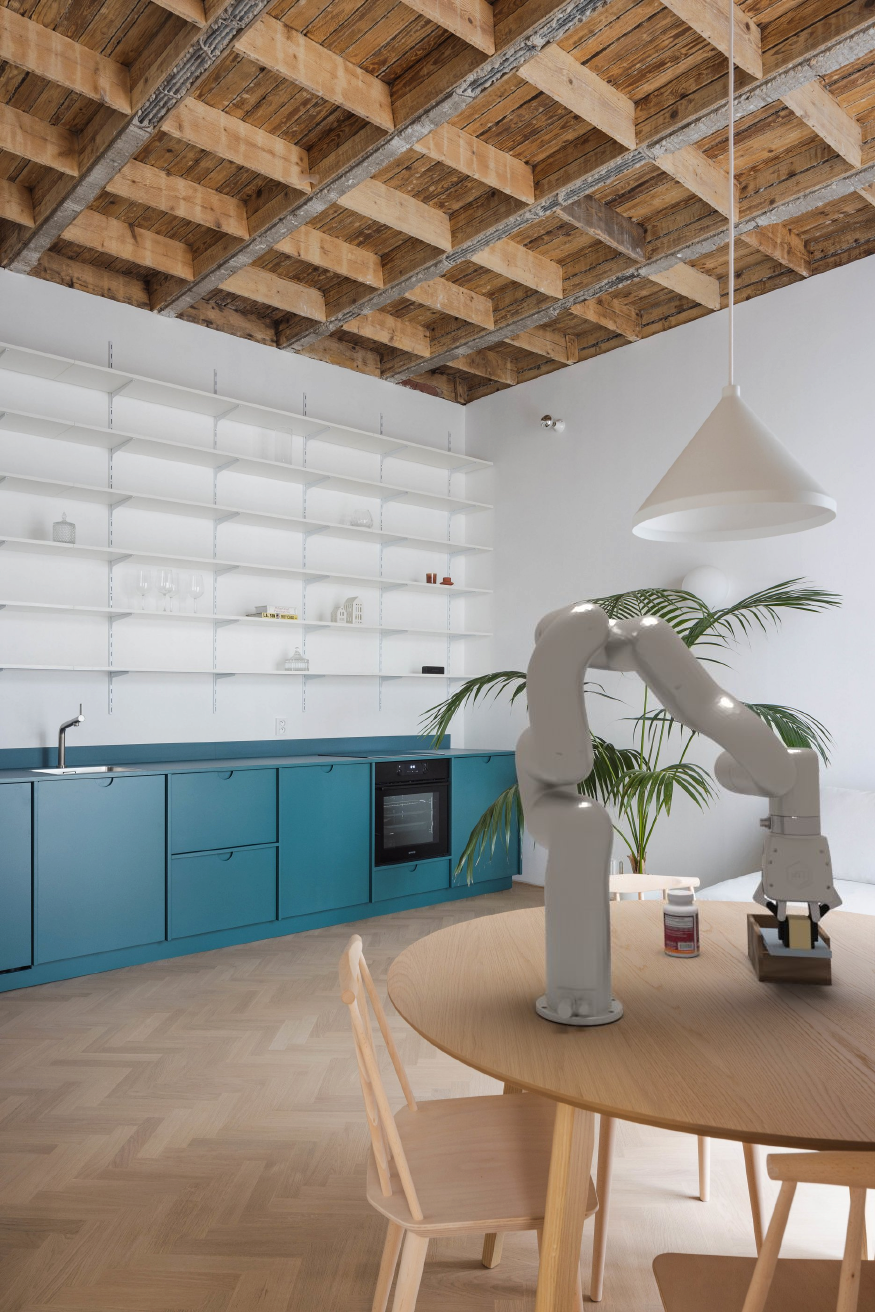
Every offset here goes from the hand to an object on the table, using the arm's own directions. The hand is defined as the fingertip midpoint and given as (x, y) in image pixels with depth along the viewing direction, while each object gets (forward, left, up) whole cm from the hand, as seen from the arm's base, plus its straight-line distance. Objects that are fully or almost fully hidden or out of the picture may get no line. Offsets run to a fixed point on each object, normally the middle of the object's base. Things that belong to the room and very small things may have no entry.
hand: (798, 944), depth 141 cm
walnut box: (+14, 0, -7) cm, 15 cm away
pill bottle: (+21, +17, -8) cm, 28 cm away
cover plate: (+4, 0, -1) cm, 5 cm away
